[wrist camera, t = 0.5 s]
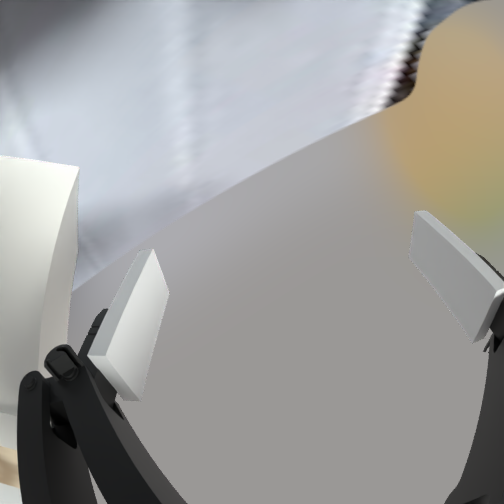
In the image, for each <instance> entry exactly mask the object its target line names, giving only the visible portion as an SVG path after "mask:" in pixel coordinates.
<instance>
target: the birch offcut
mask: <svg viewBox="0 0 504 504" xmlns="http://www.w3.org/2000/svg"><path fill="white" fill-rule="evenodd" d="M0 483H3V484H6V485H9V486H13V487H16V488H20V483H19V473H18V459H17V450H13V449H10V448H6V447H3V446H0Z"/></svg>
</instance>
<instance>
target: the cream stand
mask: <svg viewBox="0 0 504 504" xmlns="http://www.w3.org/2000/svg"><path fill="white" fill-rule="evenodd" d="M79 170H80V167H76V166H70V165H64V164H58V163H51V162H45V161H38V160H31V159H24V158H17V157H9V156H1V155H0V446H3V447H6V448H10V449H13V450H17V409H18V395H19V386H20V382H21V380H22V379H23V377H24V376H25V375H26V374H27V373H29V372H31V371H35V370H36V371H39V372H40V373H41V374H42V375H43V376H44V378H49V377H53V376H52V375H51V374H50V373H49V372H48V371H47V370H46V368H45V367H44V360H45V358H46V356H47V354H48V353H49V352H50V351H51V350H52V349H53V348H54V347H56V346H59V345H62V344H67V333H68V320H69V309H70V301H71V293H72V286H73V279H74V273H75V267H76V261H77V256H78V186H79ZM50 424H51V421H50Z"/></svg>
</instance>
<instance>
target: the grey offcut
mask: <svg viewBox="0 0 504 504" xmlns="http://www.w3.org/2000/svg"><path fill="white" fill-rule="evenodd" d="M0 504H22V498H21V491H20V488H16V487H13V486H9V485H6V484H3V483H0Z"/></svg>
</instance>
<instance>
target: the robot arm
mask: <svg viewBox="0 0 504 504" xmlns="http://www.w3.org/2000/svg"><path fill="white" fill-rule="evenodd" d="M409 259H410V260H411V261H412V262H413V264H414V265H415V266H416V267H417V268H418V270H419V271H420V272H421V273H422V275H423V276H424V277H425V278H426V280H427V281H428V282H429V284H430V285H431V286H432V287H433V289H434V290H435V291H436V293H437V294H438V295H439V296H440V298H441V299H442V301H443V302H444V303H445V305H446V306H447V307H448V309H449V310H450V312H451V313H452V314H453V316H454V317H455V319H456V320H457V321H458V323H459V324H460V326H461V327H462V329H463V330H464V332H465V333H466V335H467V336H468V338H469V339H470V341H471V342H472V343H474V342H477V341H479V340H481V339H483V338H484V337H485V336H486V333H487V332H488V330H489V328H490V329H491V330H492V332H493V334H492V335H491V337H490V339H489V341H488V343H487V345H486V346H485V348H484V352H486V350H487V348H488V347H489V346H490V348H489V352H488V353H489V360H488V369H487V377H486V384H485V390H484V396H483V401H482V407H481V411H480V416H479V420H478V425H477V429H476V433H475V436H474V440H473V444H472V447H471V450H470V454H469V457H468V460H467V463H466V466H465V468H464V471H463V474H462V477H461V479H460V482H459V483H458V485H457V487H456V488H455V489H454V490H453V491H452V492H451V494H450V495H449V497H448V498H447V500H446V502H445V503H444V504H504V277H503V276H502V275H501V274H500V273H499V272H498V271H496V269H495V268H494V267H493V266H492V265H491V264H490V263H489V262H488V261H487V260H486V259H485V258H484V257H482V256H481V255H479V254H477V253H475V252H474V251H473V250H472V249H470V248H469V247H468V246H467V245H466V244H465V243H464V242H463V241H462V240H461V239H459V238H458V237H457V236H456V235H455V234H454V233H452V232H451V231H450V230H449V229H448V228H447V227H446V226H444V225H443V224H442V223H441V222H440V221H438V220H437V219H436V218H435V217H434V216H432V215H431V214H430V213H429V212H427V211H416V212H414V222H413V229H412V237H411V244H410V250H409ZM169 294H170V292H169V289H168V287H167V284H166V282H165V279H164V276H163V274H162V271H161V268H160V265H159V263H158V260H157V257H156V254H155V252H154V249H153V248H152V249H145V250H140V251H139V252H138V254H137V256H136V258H135V259H134V261H133V263H132V265H131V267H130V269H129V271H128V272H127V274H126V276H125V278H124V280H123V282H122V284H121V285H120V287H119V289H118V291H117V293H116V295H115V297H114V299H113V301H112V303H111V305H110V307H109V309H103V310H102V311H101V312H100V313H99V314H98V315H97V316H96V318H95V320H94V322H93V324H92V328H90V330H89V332H88V335H87V336H86V338H85V341H84V343H83V345H82V347H81V349H80V351H79V353H78V356H77V355H76V353H75V352H74V351H73V349H72V348H71V347H70V346H69V345H67V344H62V345H59V346H56V347H54V348H53V349H52V350H51V351H50V352H49V353H48V354H47V356H46V358H45V360H44V367H45V368H46V370H47V371H48V372H49V373H50V374H51V375H52V376H53V377H49V378H44V376H43V375H42V374H41V373H40V372H39V371H36V370H35V371H31V372H29V373H27V374H26V375H25V376H24V377H23V379H22V380H21V382H20V386H19V395H18V409H17V459H18V473H19V483H20V491H21V498H22V504H97V500H96V497H95V493H94V490H93V486H92V482H91V478H90V474H89V470H90V472H91V474H92V476H93V478H94V480H95V482H96V484H97V485H98V488H99V490H100V491H101V493H102V495H103V496H104V499H105V500H106V502H107V504H187V503H186V502H185V501H184V500H183V498H182V497H181V496H180V495H179V493H178V492H177V491H176V490H175V488H174V487H173V486H172V485H171V483H170V482H169V481H168V480H167V478H166V477H165V476H164V475H163V473H162V472H161V470H160V469H159V468H158V466H157V465H156V463H155V462H154V461H153V459H152V458H151V457H150V455H149V453H148V452H147V450H146V449H145V448H144V446H143V444H142V443H141V441H140V440H139V438H138V437H137V435H136V434H135V432H134V430H133V429H132V427H131V425H130V424H129V422H128V420H127V419H126V417H125V415H124V413H123V412H122V410H121V408H120V406H119V404H118V403H117V402H116V401H115V397H116V394H117V393H118V394H119V395H120V396H121V397H122V398H123V400H128V401H141V399H142V394H143V390H144V386H145V382H146V378H147V373H148V369H149V366H150V362H151V358H152V353H153V350H154V346H155V342H156V339H157V335H158V331H159V328H160V324H161V321H162V317H163V314H164V310H165V307H166V303H167V300H168V297H169ZM50 421H51V424H50ZM88 468H89V470H88Z"/></svg>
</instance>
